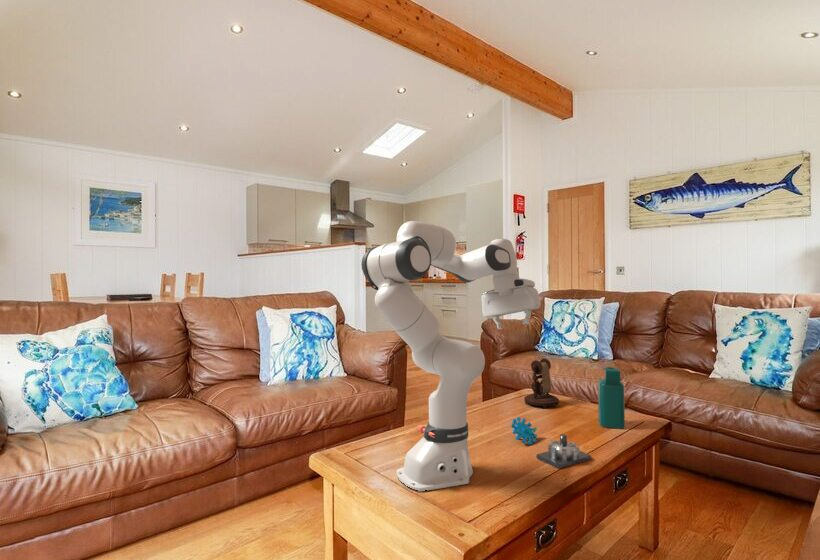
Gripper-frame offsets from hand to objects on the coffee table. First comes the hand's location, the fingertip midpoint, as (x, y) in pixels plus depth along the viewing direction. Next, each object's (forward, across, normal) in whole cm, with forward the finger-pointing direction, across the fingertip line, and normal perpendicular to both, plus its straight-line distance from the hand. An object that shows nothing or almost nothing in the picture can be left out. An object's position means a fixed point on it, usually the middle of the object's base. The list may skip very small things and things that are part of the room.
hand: (513, 326), depth 147 cm
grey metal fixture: (+42, +7, +7) cm, 43 cm away
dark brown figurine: (+30, -21, +58) cm, 68 cm away
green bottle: (+38, +10, +48) cm, 62 cm away
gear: (+38, -9, +13) cm, 41 cm away
